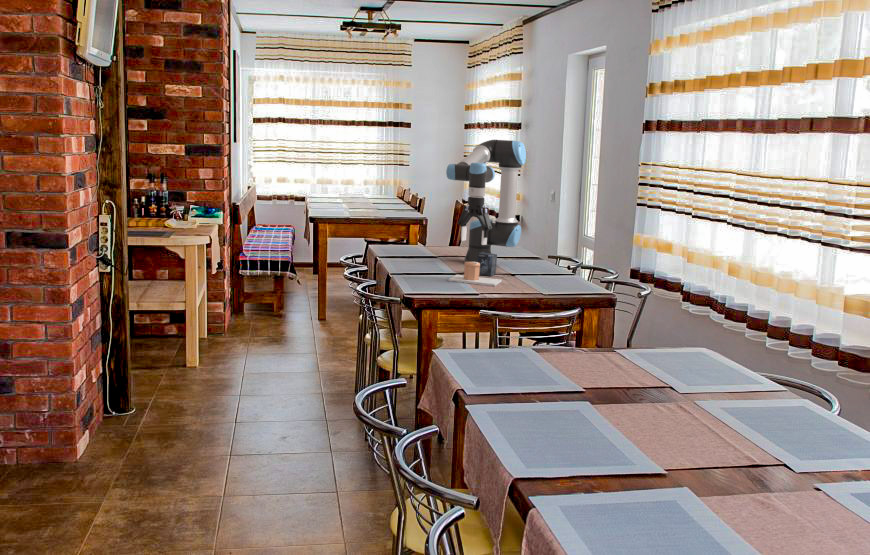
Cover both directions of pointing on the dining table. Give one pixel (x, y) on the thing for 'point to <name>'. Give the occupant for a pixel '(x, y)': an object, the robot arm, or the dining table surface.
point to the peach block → (471, 270)
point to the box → (487, 263)
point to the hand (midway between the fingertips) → (473, 242)
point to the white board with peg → (480, 282)
